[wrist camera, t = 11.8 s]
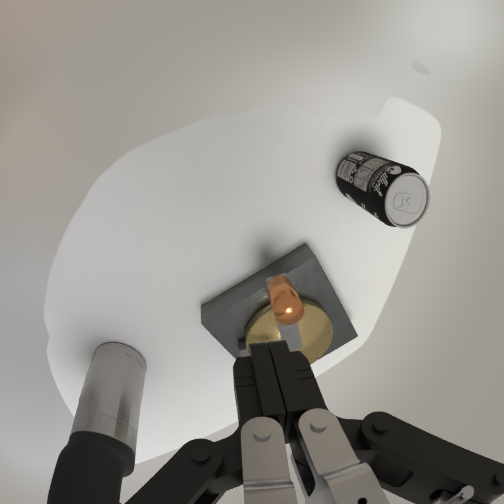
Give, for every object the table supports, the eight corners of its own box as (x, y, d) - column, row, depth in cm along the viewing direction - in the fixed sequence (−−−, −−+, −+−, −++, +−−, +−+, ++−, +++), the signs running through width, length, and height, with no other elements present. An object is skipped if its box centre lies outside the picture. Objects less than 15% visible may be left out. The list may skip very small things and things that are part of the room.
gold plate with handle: (331, 349, 44) (349, 387, 37) (249, 373, 44) (257, 414, 37) (319, 250, 37) (344, 284, 29) (214, 279, 36) (217, 321, 29)
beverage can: (377, 197, 39) (429, 228, 29) (334, 201, 39) (379, 236, 28) (378, 150, 36) (435, 168, 26) (333, 151, 36) (383, 169, 25)
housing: (261, 369, 50) (265, 387, 46) (201, 306, 43) (201, 324, 39) (348, 320, 48) (358, 336, 44) (305, 242, 41) (315, 256, 37)
